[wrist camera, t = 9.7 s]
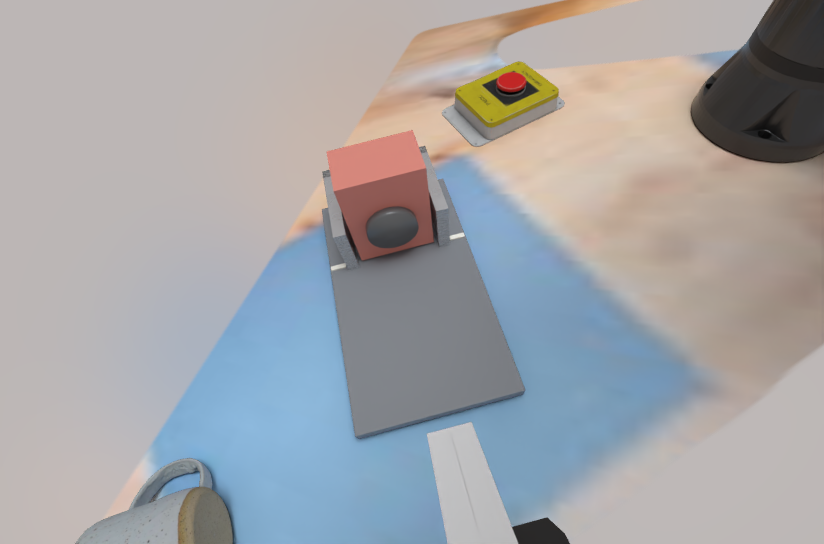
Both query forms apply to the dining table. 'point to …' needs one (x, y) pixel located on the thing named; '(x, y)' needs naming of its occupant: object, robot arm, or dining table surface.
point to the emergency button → (501, 103)
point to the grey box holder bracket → (342, 231)
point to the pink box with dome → (383, 194)
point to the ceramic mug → (168, 514)
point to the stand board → (419, 333)
